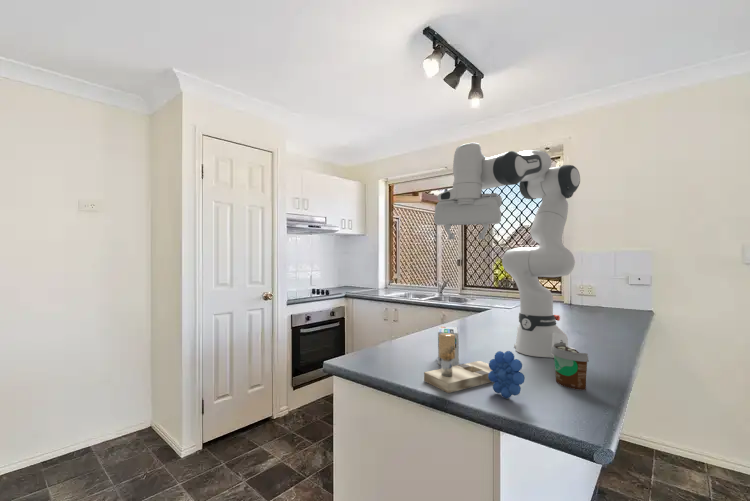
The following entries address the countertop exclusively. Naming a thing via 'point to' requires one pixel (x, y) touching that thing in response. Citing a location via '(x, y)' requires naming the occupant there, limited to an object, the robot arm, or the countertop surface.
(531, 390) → the countertop surface
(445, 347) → the gold rounded piece
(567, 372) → the food container
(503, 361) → the grapes
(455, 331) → the light bulb box
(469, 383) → the wooden block with hole
